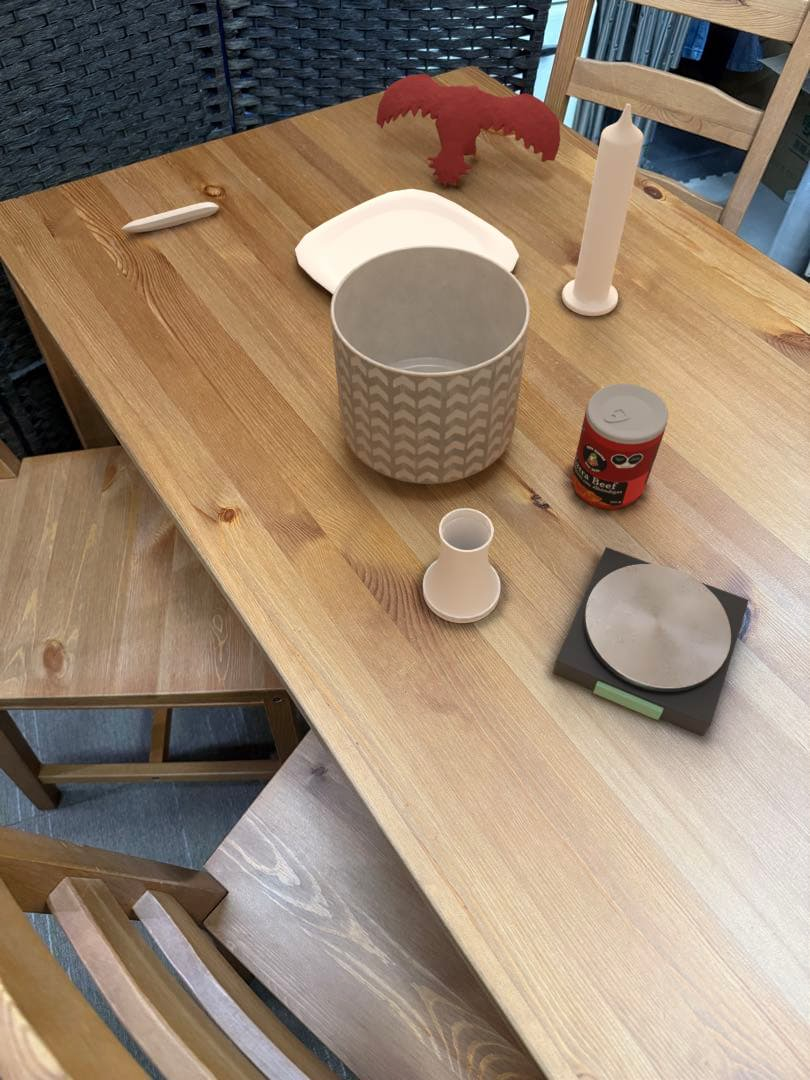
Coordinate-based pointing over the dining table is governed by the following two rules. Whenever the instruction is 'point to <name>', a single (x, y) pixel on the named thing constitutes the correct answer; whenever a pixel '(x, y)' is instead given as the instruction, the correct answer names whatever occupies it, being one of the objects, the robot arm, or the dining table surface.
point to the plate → (397, 234)
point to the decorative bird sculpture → (469, 120)
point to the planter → (429, 361)
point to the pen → (172, 217)
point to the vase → (462, 569)
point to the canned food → (618, 444)
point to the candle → (605, 219)
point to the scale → (653, 640)
